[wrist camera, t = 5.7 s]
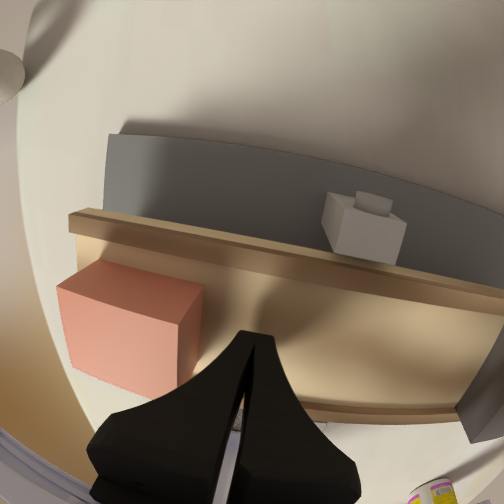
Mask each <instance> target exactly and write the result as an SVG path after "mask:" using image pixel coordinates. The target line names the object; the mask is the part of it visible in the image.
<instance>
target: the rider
mask: <svg viewBox="0 0 504 504" xmlns="http://www.w3.org/2000/svg"><path fill="white" fill-rule="evenodd" d="M204 286H205V285H204V284H200V283H195V282H191V281H186V280H182V279H178V278H173V277H169V276H165V275H161V274H156V273H152V272H148V271H144V270H140V269H136V268H132V267H128V266H124V265H120V264H116V263H112V262H108V261H105V260H101V259H98V260H96V261H95V262H93V263H92V264H90V265H88V266H87V267H85V268H84V269H82V270H80V271H79V272H77V273H76V274H74V275H72V276H71V277H69V278H68V279H66V280H65V281H63V282H62V283H60V284H59V285H57V286H56V289H57V296H58V302H59V308H60V314H61V319H62V325H63V330H64V334H65V339H66V343H67V348H68V352H69V356H70V360H71V364H72V367H73V368H76V369H78V370H80V371H82V372H84V373H86V374H89V375H91V376H93V377H95V378H98V379H100V380H102V381H105V382H107V383H110V384H112V385H115V386H117V387H120V388H122V389H125V390H127V391H130V392H133V393H135V394H138V395H141V396H144V397H147V398H150V399H153V400H154V399H156V398H159V397H161V396H163V395H165V394H167V393H169V392H171V391H172V390H174V389H176V388H177V387H179V386H181V385H182V384H184V383H186V382H187V381H188V380H190V378H191V375H192V373H193V371H194V369H195V367H196V364H197V362H198V353H199V341H200V329H201V317H202V307H203V296H204Z"/></svg>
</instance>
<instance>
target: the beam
mask: <svg viewBox="0 0 504 504" xmlns="http://www.w3.org/2000/svg"><path fill="white" fill-rule="evenodd" d="M69 232H70V233H75V234H76V251H77V267H78V272H79V271H80V270H82V269H84V268H85V267H87V266H88V265H90V264H92V263H93V262H95V261H96V260H98V259H101V260H105V261H108V262H112V263H116V264H120V265H124V266H128V267H132V268H136V269H140V270H144V271H148V272H152V273H156V274H161V275H165V276H169V277H173V278H178V279H182V280H186V281H191V282H195V283H200V284H204V285H205V286H204V296H203V307H202V317H201V329H200V341H199V353H198V362H197V364H196V367H195V369H194V371H193V373H192V375H191V378H193V377H194V376H195V375H197V374H198V373H199V372H201V371H202V370H203V369H204V368H205V367H207V366H208V365H209V364H210V363H211V362H212V361H213V360H214V359H215V358H216V357H217V356H218V355H219V354H220V353H221V352H222V351H223V350H224V349H225V348H226V347H227V346H228V345H229V343H230V342H231V341H232V340H233V338H234V337H235V336H236V334H237V332H238V331H240V330H246V331H251V332H256V333H261V334H267V335H272V336H273V337H274V338H275V343H276V348H277V351H278V355H279V358H280V361H281V364H282V366H283V369H284V372H285V374H286V376H287V379H288V381H289V383H290V385H291V387H292V389H293V391H294V393H295V395H296V397H297V398H298V400H299V402H300V403H301V405H302V406H303V408H304V409H305V411H306V412H307V414H308V415H309V417H310V418H311V419H312V420H316V421H325V422H337V423H352V424H376V425H409V424H433V423H446V422H457V421H461V423H462V425H463V428H464V430H465V432H466V434H467V437H468V439H469V441H470V444H473V443H478V442H482V441H487V440H491V439H496V438H500V437H503V436H504V290H503V289H498V288H494V287H489V286H485V285H481V284H476V283H472V282H467V281H463V280H458V279H454V278H449V277H445V276H440V275H436V274H431V273H426V272H422V271H417V270H412V269H408V268H403V267H398V266H394V265H389V264H384V263H379V262H374V261H370V260H365V259H360V258H355V257H350V256H345V255H340V254H335V253H331V252H326V251H321V250H316V249H311V248H306V247H300V246H295V245H290V244H285V243H280V242H275V241H270V240H265V239H259V238H254V237H249V236H244V235H239V234H233V233H228V232H223V231H217V230H212V229H207V228H201V227H196V226H190V225H185V224H179V223H174V222H168V221H163V220H157V219H152V218H146V217H140V216H135V215H129V214H123V213H117V212H112V211H106V210H100V209H94V208H86V209H83V210H80V211H77V212H74V213H71V214H69ZM191 378H190V379H191ZM244 394H245V393H244ZM243 404H244V396H243V399H242V402H241V405H240V408H239V409H243Z"/></svg>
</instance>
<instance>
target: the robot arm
mask: <svg viewBox="0 0 504 504" xmlns="http://www.w3.org/2000/svg"><path fill="white" fill-rule="evenodd" d="M244 393H245V394H244ZM243 396H244V404H243V414H242V424H241V432H237V431H232V428H233V425H234V422H235V419H236V417H237V414H238V411H239V408H240V405H241V402H242V399H243ZM86 451H87V454H88V457H89V459H90V461H91V462H92V464H93V466H94V468H95V470H96V471H97V473H98V477H97V479H96V481H95V482H94V484H93V486H90V485H88V484H86V483H84V482H82V481H80V480H78V479H77V478H75V477H73V476H71V475H69V474H68V473H66V472H64V471H62V470H61V469H59V468H57V467H56V466H54V465H53V464H51V463H49V462H48V461H46V460H45V459H43V458H42V457H40V456H38V455H37V454H36V453H34V452H33V451H31V450H30V449H28V448H27V447H26V446H24V445H23V444H22V443H20V442H19V441H17V440H16V439H15V438H14V437H12V436H11V435H10V434H8V433H7V432H6V431H4V430H3V429H2V428H1V427H0V497H1V498H2V499H4V500H5V501H6V502H7V503H8V504H354V503H355V502H357V500H358V499H359V498H360V497H361V482H360V478H359V474H358V471H357V467H356V464H355V462H354V461H353V460H351V459H350V458H349V457H348V456H347V455H345V454H344V453H343V452H342V451H341V450H339V449H338V448H337V447H336V446H335V445H334V444H333V443H332V442H331V441H330V440H329V439H328V438H327V437H326V436H325V435H324V434H323V433H322V431H321V430H320V429H319V428H318V427H317V425H316V424H315V423H314V422H313V421H312V419H311V418H310V417H309V415H308V414H307V412H306V411H305V409H304V408H303V406H302V405H301V403H300V402H299V400H298V398H297V397H296V395H295V393H294V391H293V389H292V387H291V385H290V383H289V381H288V379H287V376H286V374H285V372H284V369H283V366H282V364H281V361H280V358H279V355H278V351H277V348H276V343H275V338H274V337H273V336H272V335H267V334H261V333H256V332H251V331H246V330H240V331H238V332H237V334H236V336H235V337H234V338H233V340H232V341H231V342H230V343H229V345H228V346H227V347H226V348H225V349H224V350H223V351H222V352H221V353H220V354H219V355H218V356H217V357H216V358H215V359H214V360H213V361H212V362H211V363H210V364H209V365H208V366H207V367H205V368H204V369H203V370H202V371H201V372H199V373H198V374H197V375H195V376H194V377H193V378H191V379H190V380H188V381H187V382H186V383H184V384H182V385H181V386H179V387H177V388H176V389H174V390H172V391H171V392H169V393H167V394H165V395H163V396H161V397H159V398H156V399H154V400H152V401H149V402H147V403H145V404H142V405H140V406H137V407H134V408H130V409H127V410H124V411H120V412H117V413H113V414H111V415H110V416H109V417H108V418H107V419H106V420H105V421H104V423H103V424H102V425H101V426H100V427H99V428H98V430H97V431H96V433H95V435H94V436H93V438H92V439H91V441H90V442H89V444H88V446H87V449H86ZM477 504H491V503H490V500H485V501H483V502H480V503H477Z"/></svg>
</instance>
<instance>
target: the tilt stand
mask: <svg viewBox="0 0 504 504" xmlns="http://www.w3.org/2000/svg"><path fill="white" fill-rule="evenodd" d="M103 210H106V211H112V212H117V213H123V214H129V215H135V216H140V217H146V218H152V219H157V220H163V221H168V222H174V223H179V224H185V225H190V226H196V227H201V228H207V229H212V230H217V231H223V232H228V233H233V234H239V235H244V236H249V237H254V238H259V239H265V240H270V241H275V242H280V243H285V244H290V245H295V246H300V247H306V248H311V249H316V250H321V251H326V252H331V253H335V254H340V255H345V256H350V257H355V258H360V259H365V260H370V261H374V262H379V263H384V264H389V265H394V266H398V267H403V268H408V269H412V270H417V271H422V272H426V273H431V274H436V275H440V276H445V277H449V278H454V279H458V280H463V281H467V282H472V283H476V284H481V285H485V286H489V287H494V288H498V289H503V290H504V216H502V215H499V214H497V213H495V212H492V211H490V210H487V209H485V208H482V207H480V206H477V205H475V204H472V203H469V202H467V201H464V200H461V199H459V198H456V197H453V196H450V195H447V194H444V193H442V192H439V191H436V190H433V189H430V188H427V187H423V186H420V185H417V184H414V183H411V182H407V181H404V180H401V179H397V178H394V177H390V176H387V175H383V174H380V173H376V172H372V171H368V170H364V169H361V168H357V167H352V166H348V165H344V164H340V163H336V162H331V161H327V160H322V159H317V158H313V157H308V156H303V155H298V154H293V153H287V152H282V151H276V150H270V149H264V148H258V147H251V146H245V145H238V144H230V143H223V142H215V141H206V140H197V139H187V138H175V137H162V136H147V135H126V134H109V137H108V146H107V155H106V167H105V180H104V198H103ZM312 421H313V422H314V423H315V424H316V425H317V427H318V428H319V429H320V430H321V431H322V432H323V430H324V428H325V427H326V425H327V422H325V421H316V420H312Z"/></svg>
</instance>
